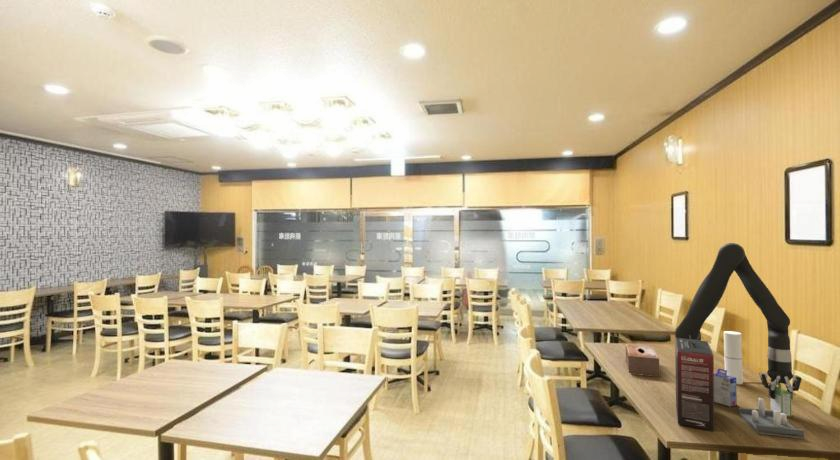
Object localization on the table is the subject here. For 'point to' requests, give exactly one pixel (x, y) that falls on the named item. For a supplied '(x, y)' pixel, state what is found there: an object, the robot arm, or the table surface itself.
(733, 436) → the table surface
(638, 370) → the tissue box cover
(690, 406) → the headset box
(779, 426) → the tray
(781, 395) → the ink box
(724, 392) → the ink cartridge box
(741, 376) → the cylindrical container
